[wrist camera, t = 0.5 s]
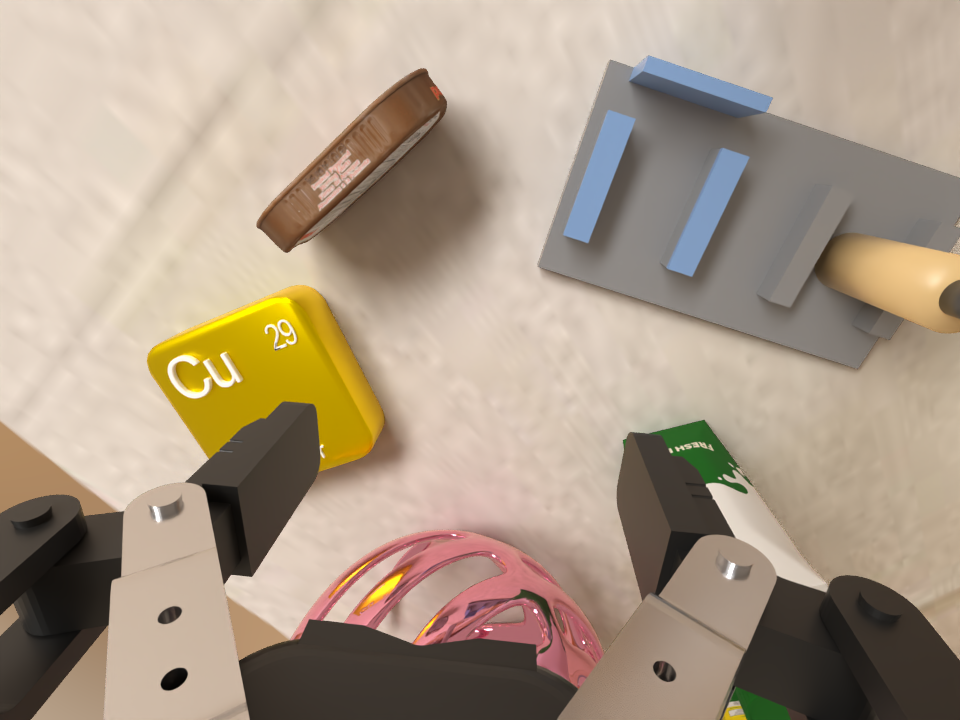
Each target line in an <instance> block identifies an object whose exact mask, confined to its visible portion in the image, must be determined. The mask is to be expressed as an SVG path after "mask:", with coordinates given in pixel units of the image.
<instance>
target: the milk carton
mask: <svg viewBox="0 0 960 720" xmlns="http://www.w3.org/2000/svg"><path fill="white" fill-rule="evenodd" d="M649 434H657V435H661V436H662V437H663V439H664V441H665V443H666V445H667V447H668V449H669V451H670V453H671V455H672V456H681V457H683V458H684V459H686V460H687V461H688V462H689V463H690V464H692V465H693V466H694V467H695V468H696V469H697V470H698V471H699V473H700V474H701V476H702V478H703V480H704V482H705V483H706V487H708V489H709V491H710V492H711V494H712V496H713V499H714V500H715V501H716V503H717V505H718V507H719V508H720V510H721V512H722V514H723V516H724V517H725V519H726V521H727V523H728V525H729V526H730V528H731V530H732V532H733V534H734V535H735V537H736V539H739V540H741V541H744V542H746V543H748V544H750V545H751V546H753V547H754V548H756V549H758V550H759V551H760V552H761V553H763V554H764V555H765V556H766V557H767V558H768V559H769V561H770V562H771V563H772V565H773V567H774V568H775V571H776V575H777V576H779V577H782V578H784V579H787V580H789V581H792V582H795V583H799V584H802V585H805V586H808V587H811V588H814V589H817V590H820V591H823V592H827V589H828V586H827V583H826V582H825V581H824V580H823V579H822V578H821V577H820V576H819V575H818V573H817V572H816V571H815V570H814V569H813V568H812V567H811V566H810V565H809V563H808V562H807V561H806V560H805V559H804V558H803V557H802V555H801V554H800V553H799V551H798V550H797V548H796V547H795V545H794V544H793V542H792V541H791V539H790V538H789V536H788V535H787V533H786V532H785V531H784V529H783V528H782V526H781V525H780V524H779V522H778V521H777V519H776V518H775V517H774V515H773V514H772V512H771V511H770V509H769V508H768V507H767V505H766V504H765V502H764V501H763V500H762V498H761V497H760V495H759V494H758V492H757V491H756V490H755V488H754V487H753V485H752V484H751V483H750V481H749V480H748V479H747V477H746V476H745V475H744V473H743V472H742V470H741V469H740V468H739V466H738V465H737V463H736V462H735V461H734V459H733V458H732V457H731V455H730V454H729V453H728V451H727V450H726V449H725V447H724V446H723V445H722V443H721V442H720V441H719V439H718V438H717V437H716V435H715V434H714V433H713V431H712V430H711V429H710V427H709V426H708V425H707V423H706V422H705V420H702V421H698V422H694V423H690V424H686V425H682V426H678V427H674V428H670V429H665V430H661V431H657V432H653V433H649ZM623 444H624V449H625V444H626V439H625V440H623ZM735 701H739V702H740V705H741V707H742V710H743V712H744V714H745V717H746V719H747V720H791V718H790V716H789V713H788V711H787V709H786V707H784V706H782V705H779V704H777V703H775V702H772V701H770V700H767V699H765V698H762V697H760V696H757V695H755V694H753V693H750V692H748V691H745V690H743V689H740V688H738V687H736V688H735V691H734V693H733V695H732V698H731V700H730V702H735Z"/></svg>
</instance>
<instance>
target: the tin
mask: <svg viewBox="0 0 960 720" xmlns="http://www.w3.org/2000/svg"><path fill="white" fill-rule="evenodd" d="M446 108H447V101H446V99H445V97H444V96H443V94H442V93H441V92H440V90H439V89H438V88H437V86H436V85H435V84H434V83H433V81H432V80H431V78H430V77H429V75H428V71H427V70H426V69H424V68H423V69H418V70H416V71H414V72H412V73H410V74H409V75H407V76H405V77H404V78H402V79H401V80H400V81H398V82H397V83H396V84H394V85H393V86H392V87H391V88H389V89H388V90H387V91H385V92H384V93H383V94H382V95H381V96H380V97H378V98H377V99H376V100H375V101H374V102H373V103H372V104H371V105H369V106H368V108H367V109H365V110H364V111H363V112H362V113H361V114H360V115H359V116H358V117H357V118H356V119H355V120H354V121H353V122H352V123H351V124H350V125H349V126H348V127H347V128H346V129H345V130H344V131H343V132H342V133H341V134H340V135H339V136H338V137H337V138H336V139H335V140H334V141H333V142H332V143H331V144H330V145H329V146H328V147H327V148H326V149H325V150H324V151H323V152H322V153H321V154H320V155H319V156H318V157H317V158H316V159H315V160H314V161H313V162H312V163H311V164H310V165H309V166H308V167H307V168H306V169H305V170H304V171H303V172H302V173H300V174H299V175H298V176H297V177H296V178H295V179H294V180H293V181H292V182H291V183H290V184H289V185H288V186H287V187H286V188H285V189H284V190H283V191H282V192H281V193H280V194H279V195H278V196H277V197H276V198H275V199H274V200H273V201H272V202H271V203H270V205H269V206H268V207H267V208H266V209H265V211H264V212H263V213H262V215H261V216H260V218H259V219H258V221H257V228H259V229H261V230H262V231H263V232H264V233H265V234H266V235H267V236H268V237H269V238H270V239H271V240H272V241H273V242H274V243H275V244H276V245H277V246H278V247H279V248H280V249H281V250H283V251H284V252H286V253H288V252H290V251H291V250H292V248H294V247H296V246H297V245H299V244H303V243H305V242H308V241H309V240H311V239H312V238H313V237H315V236H316V235H317V234H318V233H319V232H321V231H322V230H323V229H324V228H326V227H327V226H328V225H329V224H330V223H332V222H333V221H334V220H335V219H336V218H337V217H338V216H339V215H341V214H342V213H343V212H344V211H345V210H346V209H347V208H348V207H350V206H351V205H352V204H353V203H354V202H355V201H356V200H357V199H358V198H360V197H361V196H362V195H363V194H364V193H365V192H366V191H367V190H368V189H370V188H371V187H372V186H373V185H374V184H375V183H376V182H377V181H379V180H380V179H381V178H382V177H383V176H384V175H385V174H386V173H387V172H388V171H389V170H390V169H391V168H393V167H394V166H395V165H396V164H397V163H398V162H399V161H400V160H401V159H402V158H403V157H404V156H405V155H406V154H407V153H408V152H409V151H410V150H412V149H413V148H414V147H415V146H416V145H417V144H418V143H419V142H420V141H421V140H422V139H423V138H424V137H425V136H426V135H427V134H428V133H429V132H430V131H431V130H432V129H433V128H434V127H435V125H436V124H437V123H438V122H439V121H440V120H441V118H442V117H443V116H444V114H445V112H446Z"/></svg>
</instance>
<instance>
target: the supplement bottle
mask: <svg viewBox="0 0 960 720" xmlns="http://www.w3.org/2000/svg"><path fill="white" fill-rule="evenodd" d="M722 720H747V719H746V717H745V714H744V712H743V710H742V707H741V705H740V702H739V701H735V702H730V703H729V705H728V707H727V710H726V712H725V714H724V717H723V719H722Z"/></svg>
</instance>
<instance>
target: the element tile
mask: <svg viewBox="0 0 960 720" xmlns="http://www.w3.org/2000/svg"><path fill="white" fill-rule="evenodd" d="M147 364H148V368H149V371H150V373H151V375H152V377H153V378H154V380H155V381H156V382H157V384H158V385H159V387H160V388H161V390H162V391H163V393H164V394H165V396H166V397H167V399H168V400H169V401H170V403H171V404H172V406H173V407H174V409H175V410H176V412H177V413H178V415H179V416H180V418H181V419H182V420H183V422H184V423H185V425H186V426H187V428H188V429H189V431H190V432H191V434H192V435H193V436H194V438H195V439H196V441H197V442H198V444H199V445H200V447H201V448H202V450H203V451H204V453H205V454H206V455H207V457H208V458H209V459H210V458H211V457H212V456H213V455H214V454H215V453H216V452H219V450H220V448H221V447H222V446H223V445H225V444H226V443H227V442H229V441H230V439H231V438H232V437H233V436H234V435H235V434H236V433H237V432H238V431H239V430H240V429H241V428H242V427H244V426H246V425H248V424H250V423H252V422H254V421H256V420H258V419H260V418H265V419H266V418H267V417H268V416H269V415H270V414H271V413H272V412H273V411H274V410H275V409H276V408H277V407H278V406H279V405H280V404H281V403H282V402H284V401H287V402H299V403H310V404H314V405H315V407H316V411H317V419H318V431H319V443H320V456H321V458H320V467H319V471H318V472H320V471H323V470H326V469H329V468H332V467H335V466H339V465H342V464H345V463H348V462H351V461H354V460H358V459H360V458H362V457H364V456H366V455H367V454H368V453H369V452H370V451H371V450H372V448H373V446H374V444H375V442H376V440H377V438H378V436H379V435H380V433H381V431H382V429H383V426H384V424H385V419H384V413H383V410H382V408H381V406H380V404H379V402H378V401H377V399H376V397H375V395H374V393H373V391H372V389H371V387H370V385H369V383H368V381H367V379H366V378H365V376H364V374H363V372H362V370H361V368H360V366H359V364H358V362H357V360H356V358H355V356H354V355H353V353H352V351H351V349H350V347H349V345H348V343H347V341H346V339H345V337H344V335H343V333H342V332H341V330H340V328H339V326H338V324H337V322H336V320H335V318H334V316H333V314H332V312H331V310H330V309H329V307H328V305H327V303H326V301H325V299H324V298H323V297H322V295H320V294H319V293H318V292H317V291H316V290H315V289H313V288H311V287H309V286H306V285H295V286H291V287H288V288H286V289H283V290H281V291H278V292H276V293H274V294H271V295H269V296H266V297H264V298H262V299H259V300H257V301H254V302H252V303H250V304H247V305H245V306H242V307H240V308H237V309H235V310H233V311H230V312H228V313H225V314H223V315H221V316H218V317H216V318H213V319H211V320H209V321H206V322H204V323H201V324H199V325H197V326H194V327H192V328H189V329H187V330H185V331H183V332H181V333H179V334H177V335H175V336H173V337H171V338H169V339H167V340H165V341H163V342H161V343H159V344H158V345H156V346H155V347H153V348H152V350H151V351H150V352H149V354H148V357H147Z"/></svg>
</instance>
